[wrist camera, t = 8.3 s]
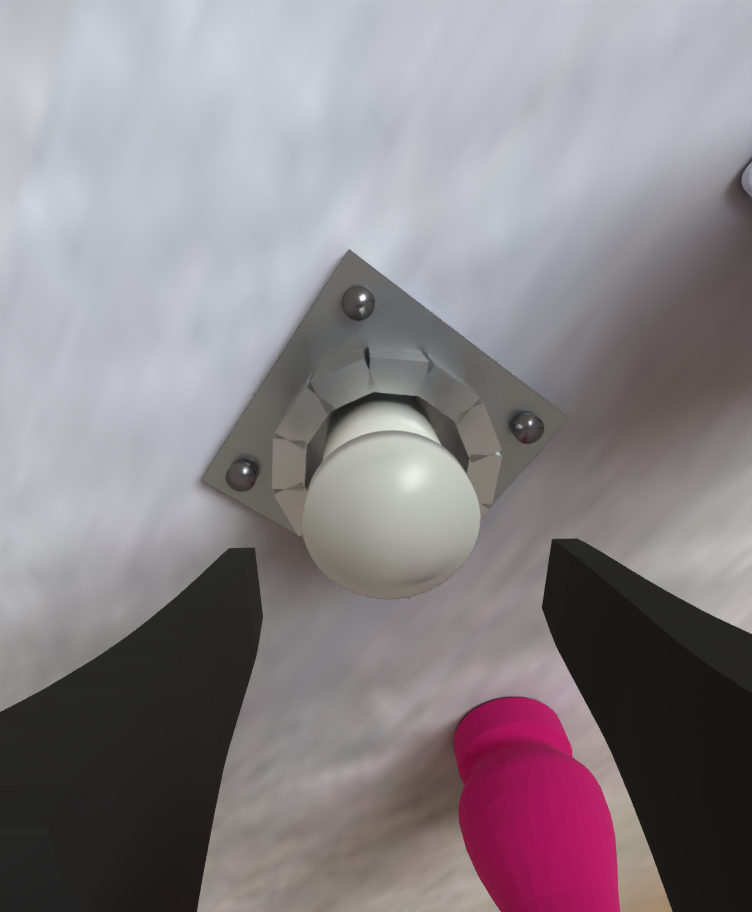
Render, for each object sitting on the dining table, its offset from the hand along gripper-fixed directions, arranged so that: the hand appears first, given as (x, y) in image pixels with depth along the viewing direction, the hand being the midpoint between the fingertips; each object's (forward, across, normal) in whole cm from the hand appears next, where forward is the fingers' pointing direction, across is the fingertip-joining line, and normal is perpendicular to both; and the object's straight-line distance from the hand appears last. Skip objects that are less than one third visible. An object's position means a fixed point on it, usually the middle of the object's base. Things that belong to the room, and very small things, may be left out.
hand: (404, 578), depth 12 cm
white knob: (+9, 0, 0) cm, 9 cm away
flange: (+10, 0, 0) cm, 10 cm away
